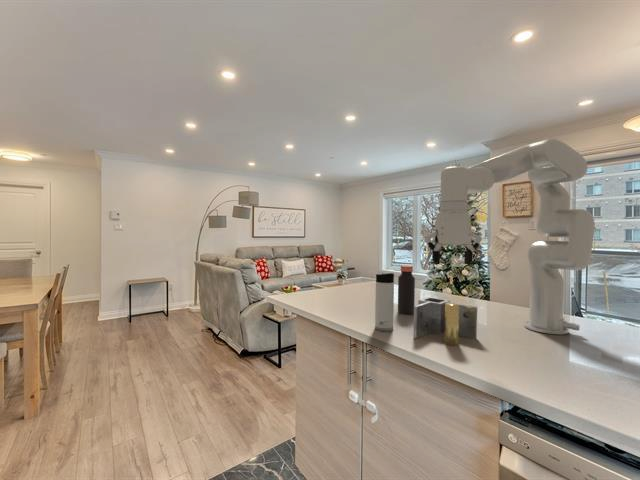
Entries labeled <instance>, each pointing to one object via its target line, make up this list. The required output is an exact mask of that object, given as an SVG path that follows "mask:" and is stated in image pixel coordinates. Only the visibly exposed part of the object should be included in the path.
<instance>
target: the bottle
mask: <svg viewBox="0 0 640 480" xmlns="http://www.w3.org/2000/svg"><path fill="white" fill-rule="evenodd" d="M413 268H414V267H413V265H408V264H407V265H405V264H404V265H400V272H401V274H400V275H399V276H398V277H397V278H398V280H397V312H398V313H399V314H402V315H406V316H407V315H414V306H415V292H416V291H415V289H416V281H415V280H416V278H415V276H414V275H413V271H414V269H413Z"/></svg>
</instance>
